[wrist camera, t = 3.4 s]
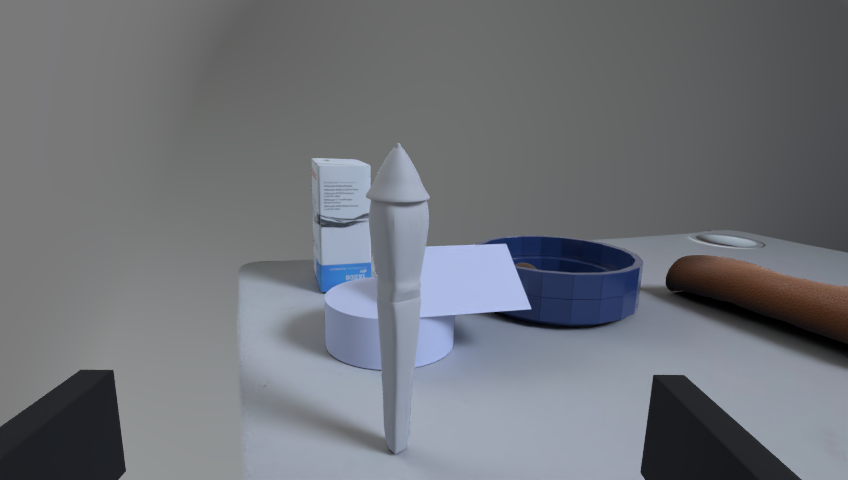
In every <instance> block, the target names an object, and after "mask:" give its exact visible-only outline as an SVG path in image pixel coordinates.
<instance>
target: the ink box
mask: <svg viewBox="0 0 848 480" xmlns="http://www.w3.org/2000/svg"><path fill="white" fill-rule="evenodd" d="M370 188H371V185H370V165H368V164H366V163H363V162H361V161H359V160H356V159H326V158H312V200H313V249H314V271H315V275H316V278H317V282H318V285H319V288H320V291H321V292H327V291H329V290H330V289H331V288H333V287H334V286H337V285H339V284H341V283H344V282H348V281H352V280H356V279H362V278H370V277H371V238H370V230H369V209H370V204H371V200H370V199H368V198H366V194H367V192H368V191H369V189H370Z"/></svg>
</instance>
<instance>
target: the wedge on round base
mask: <svg viewBox="0 0 848 480" xmlns="http://www.w3.org/2000/svg"><path fill="white" fill-rule="evenodd" d="M377 278H378V277H370V278H362V279H356V280H352V281H348V282H344V283H341V284H339V285H337V286H334V287H333V288H331V289H330V290H329V291H327V293H326V294H325V344H326V348H327V350H328V352H329V353H330V354H331V355H332V356H333V357H335V358H336V359H338V360H340V361H342V362H344V363H347V364H350V365H353V366H357V367H362V368H367V369H376V370H382V368H381V353H380V338H379V325H378V310H377ZM420 281H421V288H420V291H421V295H420V297H421V307H420V322H419V332H418V341H417V349H416V359H415V368H416V367H420V366H424V365H427V364H431V363H433V362H436V361H438V360H440V359H441V358H443V357H444V356H446V355H447V354H448V353H449V352H450V351H451V349H452V347H453V342H454V316H455V315H459V314H473V313H486V312H500V311H513V310H526V309H531V306H530V304H529V301H528V299H527V296H526V293H525V291H524V288H523V286H522V283H521V281H520V278H519V275H518V273H517V270H516V268H515V265H514V263H513V260H512V257H511V255H510V252H509V250H508V247H507V245H506V244H487V245H461V246H433V247H426V248H425V254H424V259H423V265H422V271H421V277H420Z"/></svg>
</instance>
